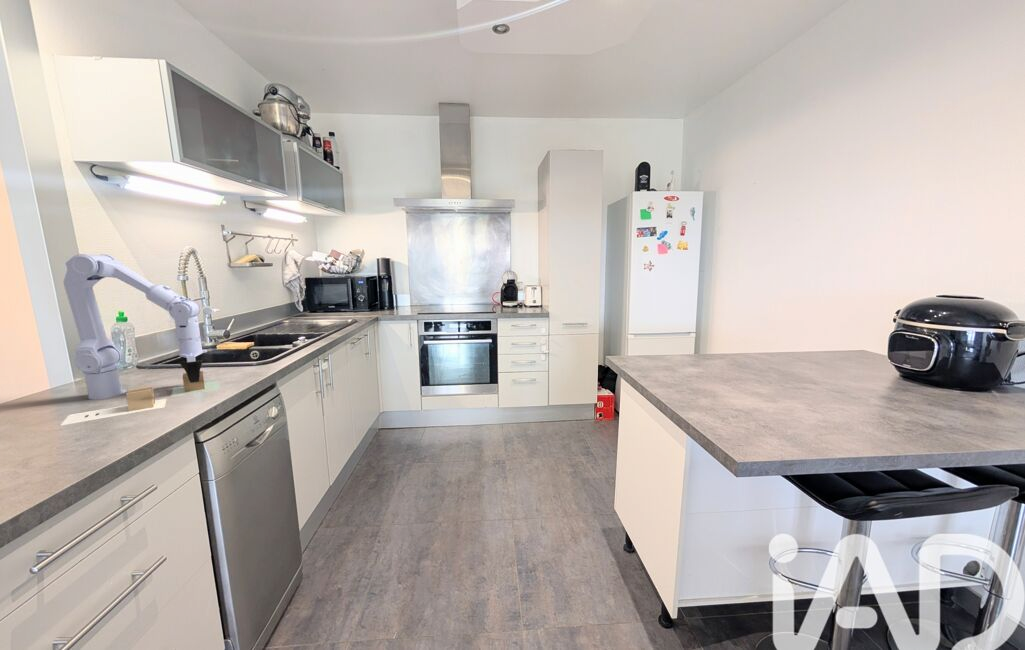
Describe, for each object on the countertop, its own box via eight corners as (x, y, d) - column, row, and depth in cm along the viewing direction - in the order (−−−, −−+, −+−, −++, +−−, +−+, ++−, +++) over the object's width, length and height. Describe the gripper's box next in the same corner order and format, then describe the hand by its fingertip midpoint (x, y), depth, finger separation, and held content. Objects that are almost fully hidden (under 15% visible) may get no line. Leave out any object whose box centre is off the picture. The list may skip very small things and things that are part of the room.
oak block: (131, 406, 112) (128, 389, 111) (154, 402, 115) (152, 385, 114) (129, 411, 108) (126, 394, 107) (153, 407, 111) (150, 390, 110)
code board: (69, 416, 106) (69, 414, 106) (166, 400, 118) (166, 398, 118) (60, 427, 99) (59, 425, 99) (164, 409, 111) (164, 406, 111)
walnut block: (185, 388, 128) (183, 373, 127) (204, 385, 131) (202, 370, 130) (184, 392, 124) (182, 377, 123) (204, 388, 127) (202, 374, 126)
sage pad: (173, 389, 128) (173, 387, 128) (218, 382, 136) (218, 380, 136) (171, 399, 119) (171, 397, 119) (220, 391, 127) (219, 389, 126)
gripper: (205, 340, 121) (210, 382, 124) (204, 333, 133) (209, 371, 135) (175, 343, 117) (181, 386, 119) (177, 335, 128) (183, 375, 131)
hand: (194, 379), depth 127 cm, fingers open, 7 cm apart
